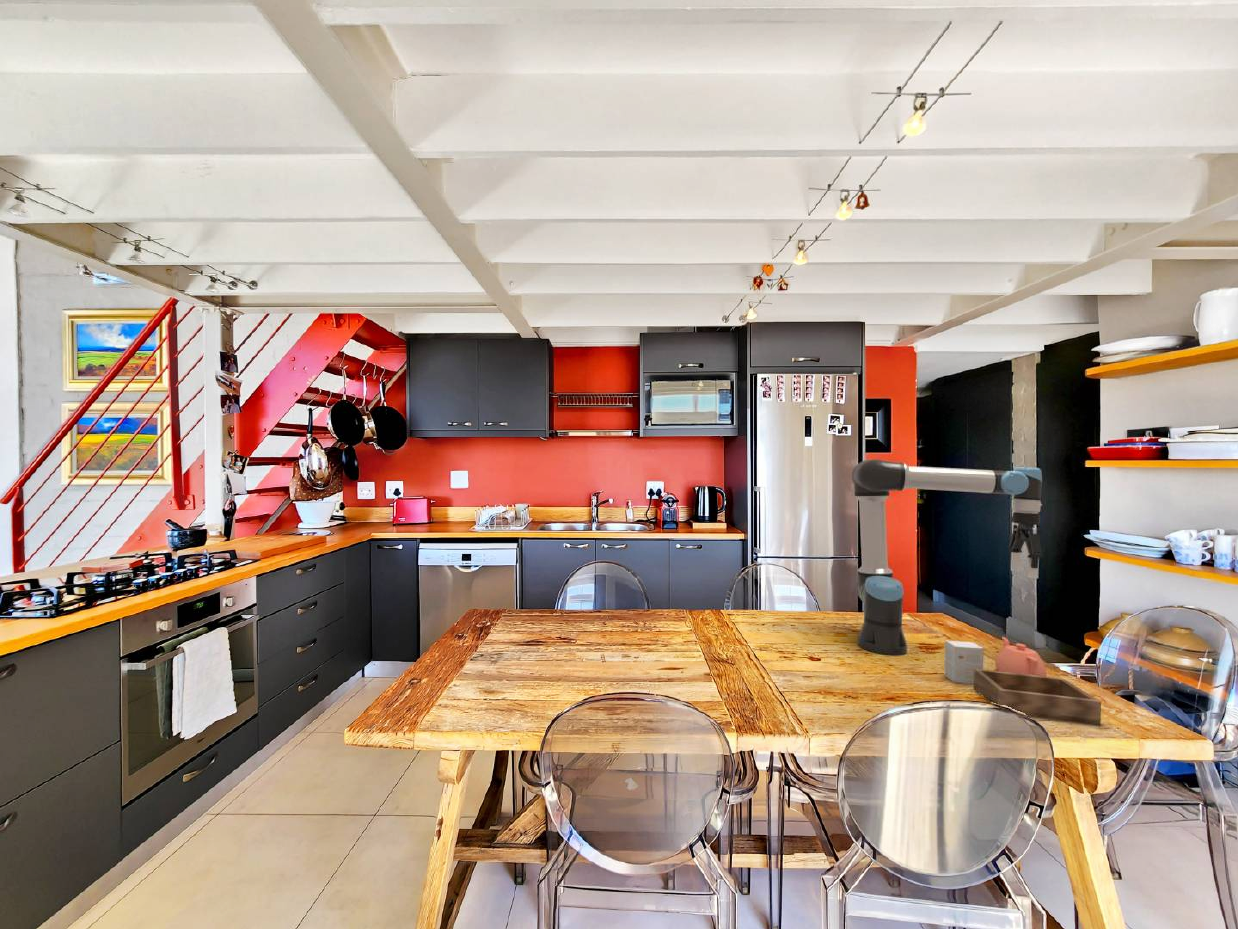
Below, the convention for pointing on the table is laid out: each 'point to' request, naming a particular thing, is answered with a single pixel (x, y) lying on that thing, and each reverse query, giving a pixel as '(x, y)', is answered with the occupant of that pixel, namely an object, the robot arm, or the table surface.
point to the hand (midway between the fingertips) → (1023, 574)
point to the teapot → (1019, 660)
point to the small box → (962, 661)
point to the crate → (1038, 696)
